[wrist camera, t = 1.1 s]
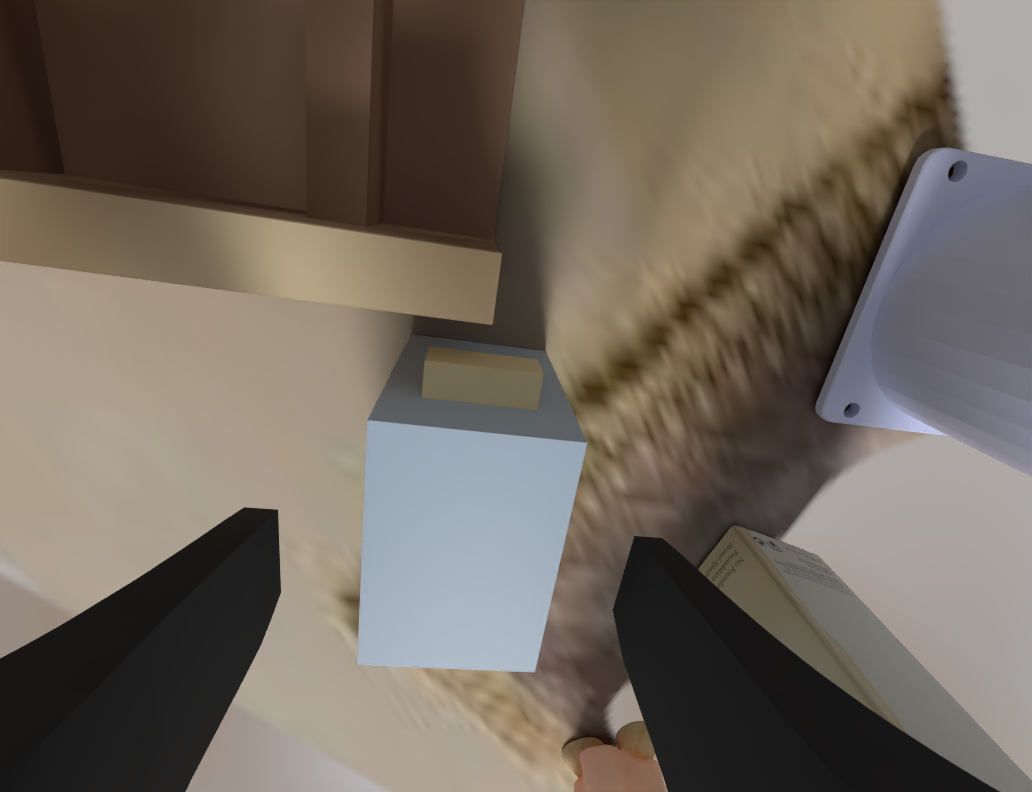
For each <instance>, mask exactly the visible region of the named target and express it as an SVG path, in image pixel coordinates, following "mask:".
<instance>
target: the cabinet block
mask: <svg viewBox="0 0 1032 792" xmlns="http://www.w3.org/2000/svg"><path fill="white" fill-rule="evenodd" d="M586 447H587V441H586V439H585V437H584V435H583V432H582V430H581V428H580V426H579V424H578V421H577V419H576V417H575V415H574V413H573V410H572V408H571V406H570V404H569V402H568V399H567V397H566V395H565V393H564V391H563V388H562V386H561V384H560V382H559V380H558V377H557V375H556V373H555V371H554V369H553V366H552V364H551V362H550V360H549V358H548V355H547V353H546V351H540V350H532V349H524V348H516V347H508V346H500V345H492V344H484V343H476V342H468V341H460V340H452V339H444V338H436V337H428V336H420V335H412V334H411V336H410V338H409V340H408V342H407V344H406V346H405V348H404V350H403V352H402V354H401V356H400V358H399V360H398V361H397V363H396V365H395V367H394V369H393V371H392V373H391V375H390V377H389V379H388V381H387V383H386V385H385V387H384V389H383V391H382V393H381V395H380V397H379V399H378V401H377V403H376V405H375V406H374V408H373V410H372V412H371V414H370V416H369V418H368V420H367V443H366V468H365V492H364V516H363V540H362V565H361V589H360V613H359V637H358V662H357V665H372V666H396V667H420V668H444V669H468V670H492V671H516V672H535V669H536V664H537V660H538V656H539V651H540V647H541V643H542V638H543V634H544V630H545V625H546V621H547V616H548V612H549V608H550V603H551V599H552V595H553V590H554V586H555V582H556V577H557V573H558V569H559V564H560V560H561V555H562V551H563V547H564V542H565V538H566V534H567V529H568V525H569V521H570V516H571V512H572V508H573V503H574V499H575V494H576V490H577V486H578V481H579V477H580V473H581V468H582V464H583V460H584V455H585V451H586Z"/></svg>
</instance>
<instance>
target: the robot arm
mask: <svg viewBox="0 0 1032 792" xmlns="http://www.w3.org/2000/svg"><path fill="white" fill-rule="evenodd" d="M952 164H953V167H954V171H953V174H952V176H951V177H950V179H949V178H948V172H949V169H950V167H951V166H952ZM849 404H851V406H850V408H849V409H848V410H847V411H845V412H844V409H845V408H846V406H847V405H849ZM815 410H816V413H817V414H818V416H819V417H821V418H822V419H824V420H826V421H829V422H833V423H842V424H851V425H859V426H868V427H877V428H886V429H894V430H903V431H912V432H920V433H929V434H938V435H947V436H950V437H952V438H954V439H956V440H958V441H960V442H963V443H965V444H967V445H969V446H971V447H973V448H975V449H977V450H979V451H981V452H983V453H985V454H987V455H989V456H991V457H993V458H995V459H997V460H999V461H1001V462H1003V463H1005V464H1007V465H1009V466H1011V467H1013V468H1015V469H1017V470H1019V471H1021V472H1023V473H1025V474H1028V475H1029V476H1031V477H1032V164H1028V163H1023V162H1018V161H1013V160H1008V159H1003V158H998V157H993V156H988V155H983V154H978V153H973V152H968V151H964V150H959V149H954V148H936V149H930V150H928V151H926V152H924V153H923V154H922V155H921V156H920V157H919V158H918V159H917V161H916V163H915V164H914V166H913V169H912V171H911V174H910V176H909V178H908V181H907V183H906V186H905V188H904V191H903V193H902V195H901V198H900V200H899V203H898V205H897V208H896V210H895V212H894V215H893V217H892V220H891V222H890V225H889V227H888V229H887V232H886V234H885V237H884V239H883V242H882V244H881V247H880V249H879V251H878V254H877V256H876V259H875V261H874V264H873V266H872V268H871V271H870V273H869V276H868V278H867V281H866V283H865V285H864V288H863V290H862V293H861V295H860V298H859V300H858V302H857V305H856V307H855V310H854V312H853V315H852V317H851V319H850V322H849V324H848V327H847V329H846V332H845V334H844V337H843V339H842V341H841V344H840V346H839V349H838V351H837V354H836V356H835V358H834V361H833V363H832V366H831V368H830V371H829V373H828V375H827V378H826V380H825V383H824V385H823V388H822V390H821V392H820V395H819V397H818V400H817V402H816V406H815ZM280 594H281V582H280V554H279V525H278V510H273V509H259V508H246V507H244V508H243V509H241V510H240V511H238V512H237V513H235V514H233V515H232V516H230V517H229V518H227V519H226V520H224V521H223V522H221V523H220V524H219V525H217V526H216V527H214V528H213V529H211V530H210V531H208V532H207V533H205V534H204V535H202V536H201V537H199V538H198V539H197V540H195V541H194V542H192V543H191V544H189V545H188V546H186V547H185V548H183V549H182V550H180V551H179V552H177V553H176V554H174V555H173V556H171V557H170V558H168V559H167V560H165V561H164V562H162V563H160V564H159V565H157V566H156V567H154V568H153V569H151V570H150V571H148V572H147V573H145V574H144V575H142V576H141V577H139V578H138V579H136V580H134V581H133V582H131V583H130V584H128V585H126V586H125V587H123V588H121V589H120V590H118V591H116V592H115V593H113V594H111V595H110V596H108V597H107V598H105V599H103V600H102V601H100V602H98V603H97V604H95V605H93V606H92V607H90V608H89V609H87V610H85V611H84V612H82V613H80V614H79V615H77V616H75V617H74V618H72V619H71V620H69V621H67V622H65V623H64V624H62V625H60V626H59V627H57V628H55V629H53V630H52V631H50V632H48V633H46V634H44V635H43V636H41V637H39V638H38V639H36V640H34V641H32V642H30V643H28V644H27V645H25V646H23V647H21V648H19V649H18V650H16V651H14V652H12V653H10V654H8V655H6V656H4V657H3V658H0V792H185V791H186V789H187V787H188V785H189V783H190V781H191V779H192V776H193V775H194V773H195V771H196V769H197V767H198V765H199V764H200V762H201V760H202V758H203V756H204V754H205V752H206V750H207V748H208V746H209V744H210V742H211V740H212V738H213V737H214V735H215V733H216V731H217V729H218V727H219V725H220V723H221V721H222V719H223V718H224V715H225V714H226V712H227V710H228V708H229V706H230V704H231V702H232V700H233V698H234V697H235V695H236V693H237V691H238V689H239V687H240V685H241V683H242V681H243V679H244V677H245V675H246V673H247V671H248V669H249V667H250V666H251V664H252V662H253V660H254V658H255V656H256V654H257V652H258V650H259V648H260V646H261V644H262V641H263V638H264V636H265V633H266V631H267V628H268V626H269V623H270V621H271V618H272V615H273V613H274V610H275V607H276V604H277V602H278V599H279V596H280ZM613 613H614V618H615V623H616V628H617V633H618V638H619V642H620V647H621V651H622V656H623V660H624V663H625V666H626V669H627V672H628V675H629V678H630V681H631V684H632V687H633V690H634V693H635V696H636V699H637V701H638V705H639V707H640V710H641V713H642V716H643V719H644V722H645V725H646V728H647V731H648V734H649V736H650V739H651V742H652V745H653V748H654V751H655V754H656V757H657V760H658V763H659V766H660V768H661V771H662V774H663V777H664V780H665V783H666V787H667V790H668V792H1000V791H998V790H996V789H995V788H993V787H991V786H990V785H988V784H986V783H985V782H983V781H981V780H980V779H978V778H976V777H975V776H973V775H971V774H970V773H968V772H966V771H965V770H963V769H961V768H960V767H958V766H957V765H955V764H953V763H952V762H950V761H948V760H947V759H945V758H944V757H942V756H940V755H939V754H937V753H936V752H934V751H933V750H931V749H930V748H928V747H927V746H925V745H923V744H922V743H920V742H919V741H917V740H916V739H914V738H913V737H911V736H910V735H908V734H906V733H905V732H903V731H902V730H900V729H899V728H897V727H896V726H894V725H893V724H891V723H890V722H888V721H887V720H885V719H884V718H882V717H881V716H879V715H878V714H876V713H875V712H873V711H872V710H870V709H869V708H868V707H866V706H865V705H863V704H862V703H861V702H859V701H858V700H856V699H855V698H854V697H852V696H851V695H850V694H848V693H847V692H845V691H844V690H843V689H841V688H840V687H838V686H837V685H836V684H834V683H833V682H832V681H830V680H829V679H827V678H826V677H825V676H823V675H822V674H821V673H819V672H818V671H817V670H815V669H814V668H813V667H812V666H810V665H809V664H808V663H806V662H805V661H804V660H802V659H801V658H800V657H799V656H797V655H796V654H795V653H794V652H793V651H791V650H790V649H789V648H788V647H786V646H785V645H784V644H783V643H781V642H780V641H779V640H778V639H777V638H775V637H774V636H773V635H772V634H770V633H769V632H768V631H767V630H766V629H764V628H763V627H762V626H761V625H760V624H759V623H757V622H756V621H755V620H754V619H753V618H751V617H750V616H749V615H748V614H747V613H746V612H745V611H743V610H742V609H741V608H740V607H739V606H738V605H737V604H735V603H734V602H733V601H732V600H731V599H730V598H729V597H728V596H726V595H725V594H724V593H723V592H722V591H721V590H720V589H719V588H718V587H716V586H715V585H714V584H713V583H712V582H711V581H710V580H709V579H708V578H707V577H705V576H704V575H703V574H702V573H701V572H700V571H699V570H698V569H697V568H696V567H694V566H693V565H692V564H691V563H690V562H689V561H688V560H687V559H686V558H684V557H683V556H682V555H681V554H680V553H679V552H678V551H677V550H675V549H674V548H673V547H672V546H671V545H670V544H668V543H667V542H666V541H665V540H663V539H662V538H653V537H639V536H634V540H633V543H632V546H631V550H630V553H629V557H628V560H627V563H626V567H625V570H624V574H623V577H622V581H621V584H620V587H619V591H618V594H617V598H616V601H615V605H614V608H613Z"/></svg>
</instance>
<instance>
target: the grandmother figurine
mask: <svg viewBox="0 0 1032 792" xmlns="http://www.w3.org/2000/svg"><path fill="white" fill-rule="evenodd" d="M616 744H617V748H616V747H614V746H612V745H604V743H603V742H602V741H601V740H600V739H598V738H595V737H585V738H580V739H577V740H574V741H572V742H570V743H568V744H567V745H566V746H565V747H564V748H563V750H562V757H563V760H564V762H565V764H566V765H567V766H568V768H569V769H570V770H571V771H572V772H573V773H575V774H576V775H577V776H578V777H579V778H578V780H576V782H575V785H574V792H666V789H665V785H664V782H663V779H662V775H661V771H660V768H659V764H658V763H657V761H655V760H653V758H654V755H655V751H654V748H653V745H652V742H651V739H650V736H649V734H648V731H647V728H646V725H645V722H644V721H638V722H632V723H629V724H627V725H625V726H623V727H622V728H621V729H620V730H619V731H618V732H617V734H616Z"/></svg>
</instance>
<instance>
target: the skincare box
mask: <svg viewBox="0 0 1032 792" xmlns="http://www.w3.org/2000/svg"><path fill="white" fill-rule="evenodd" d="M698 570H699V571H700V572H701V573H702V574H703V575H704V576H705V577H707V578H708V579H709V580H710V581H711V582H712V583H713V584H714V585H715V586H716V587H718V588H719V589H720V590H721V591H722V592H723V593H724V594H725V595H726V596H728V597H729V598H730V599H731V600H732V601H733V602H734V603H735V604H737V605H738V606H739V607H740V608H741V609H742V610H743V611H745V612H746V613H747V614H748V615H749V616H750V617H751V618H753V619H754V620H755V621H756V622H757V623H759V624H760V625H761V626H762V627H763V628H764V629H766V630H767V631H768V632H769V633H770V634H772V635H773V636H774V637H775V638H777V639H778V640H779V641H780V642H781V643H783V644H784V645H785V646H786V647H788V648H789V649H790V650H791V651H793V652H794V653H795V654H796V655H797V656H799V657H800V658H801V659H802V660H804V661H805V662H806V663H808V664H809V665H810V666H812V667H813V668H814V669H815V670H817V671H818V672H819V673H821V674H822V675H823V676H825V677H826V678H827V679H829V680H830V681H832V682H833V683H834V684H836V685H837V686H838V687H840V688H841V689H843V690H844V691H845V692H847V693H848V694H850V695H851V696H852V697H854V698H855V699H856V700H858V701H859V702H861V703H862V704H863V705H865V706H866V707H868V708H869V709H870V710H872V711H873V712H875V713H876V714H878V715H879V716H881V717H882V718H884V719H885V720H887V721H888V722H890V723H891V724H893V725H894V726H896V727H897V728H899V729H900V730H902V731H903V732H905V733H906V734H908V735H910V736H911V737H913V738H914V739H916V740H917V741H919V742H920V743H922V744H923V745H925V746H927V747H928V748H930V749H931V750H933V751H934V752H936V753H937V754H939V755H940V756H942V757H944V758H945V759H947V760H948V761H950V762H952V763H953V764H955V765H957V766H958V767H960V768H961V769H963V770H965V771H966V772H968V773H970V774H971V775H973V776H975V777H976V778H978V779H980V780H981V781H983V782H985V783H986V784H988V785H990V786H991V787H993V788H995V789H996V790H998V791H1000V792H1032V781H1031V779H1029V777H1028V776H1027V775H1026V774H1025V773H1024V772H1023V771H1022V770H1021V769H1020V768H1019V767H1018V766H1017V765H1016V764H1015V763H1014V762H1013V761H1012V760H1011V759H1010V758H1009V757H1008V755H1007V754H1006V753H1005V752H1004V751H1003V750H1002V749H1001V748H1000V747H999V746H998V745H997V744H996V743H995V742H994V741H993V740H992V739H991V737H990V736H989V735H988V734H987V733H986V732H985V731H984V730H983V729H982V728H981V727H980V726H979V725H978V724H977V723H976V722H975V721H974V719H973V718H972V717H971V716H970V715H969V714H968V713H967V712H966V711H965V710H964V709H963V708H962V707H961V706H960V705H959V704H958V703H957V702H956V701H955V699H954V698H953V697H952V696H951V695H950V694H949V693H948V692H947V691H946V690H945V689H944V688H943V687H942V686H941V685H940V683H939V682H938V681H937V680H935V678H934V677H933V676H932V675H931V674H930V673H929V672H928V671H927V670H926V669H925V668H924V667H923V666H922V665H921V664H920V663H919V661H918V660H916V658H915V657H914V656H913V655H912V654H911V653H910V652H909V651H908V650H907V649H906V648H905V647H904V646H903V645H902V643H900V641H899V640H898V639H897V638H896V637H895V636H894V635H893V634H892V633H891V632H890V631H889V630H888V629H887V628H886V627H885V625H883V623H882V622H881V621H880V620H879V619H878V618H877V617H876V616H875V615H874V614H873V613H872V612H871V610H870V609H869V608H868V607H866V605H865V604H864V603H863V602H862V601H861V600H860V599H859V598H858V597H857V596H856V595H855V594H854V592H853V591H852V590H851V589H850V588H849V587H848V586H847V585H846V584H845V583H844V582H843V581H842V580H841V579H840V578H839V577H838V575H836V573H835V572H834V571H832V569H831V568H830V567H829V566H828V565H827V564H826V563H825V562H824V561H823V560H822V559H821V558H820V557H819V556H818V555H815V554H812V553H809V552H807V551H805V550H802V549H800V548H797V547H795V546H792V545H789V544H787V543H784V542H782V541H779V540H777V539H774V538H771V537H768V536H766V535H763V534H760V533H757V532H755V531H751V530H748V529H746V528H742V527H740V526H736V525H735V526H732V527H731V528H730V529H729V530H728V531H727V533H726V534H725V535H724V536H723V538H722V539H721V540H720V542H719V543H718V544H717V545H716V547H715V548H714V549H713V551H712V552H711V553H710V554H709V556H708V557H707V558H706V560H705V561H704V562H703V563H702V565H701V566H700V567H699V569H698Z"/></svg>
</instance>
